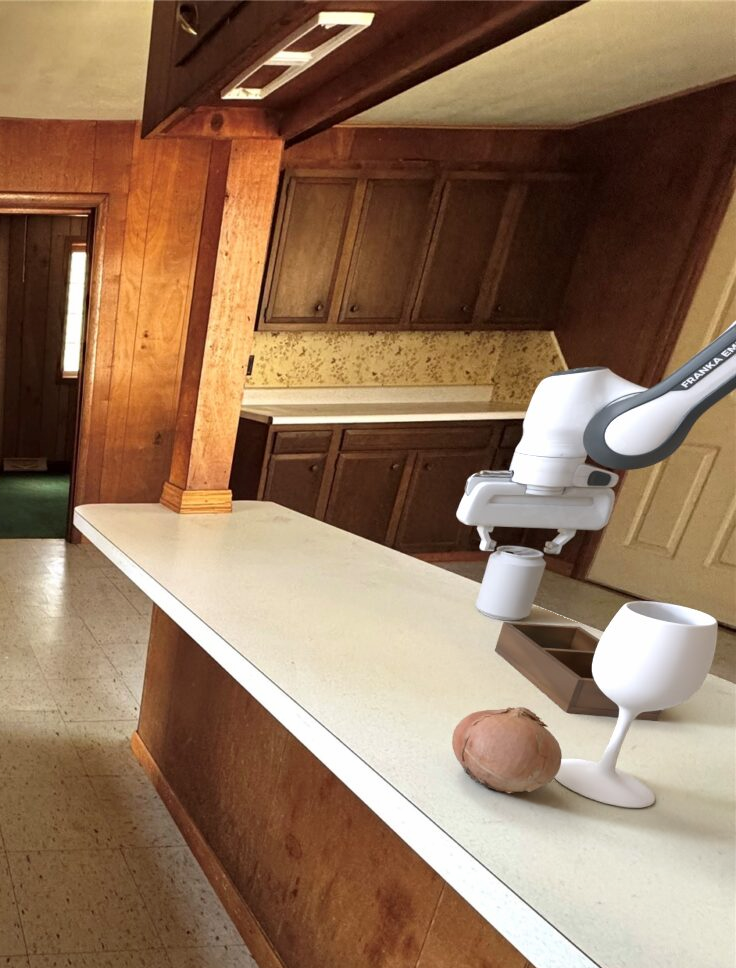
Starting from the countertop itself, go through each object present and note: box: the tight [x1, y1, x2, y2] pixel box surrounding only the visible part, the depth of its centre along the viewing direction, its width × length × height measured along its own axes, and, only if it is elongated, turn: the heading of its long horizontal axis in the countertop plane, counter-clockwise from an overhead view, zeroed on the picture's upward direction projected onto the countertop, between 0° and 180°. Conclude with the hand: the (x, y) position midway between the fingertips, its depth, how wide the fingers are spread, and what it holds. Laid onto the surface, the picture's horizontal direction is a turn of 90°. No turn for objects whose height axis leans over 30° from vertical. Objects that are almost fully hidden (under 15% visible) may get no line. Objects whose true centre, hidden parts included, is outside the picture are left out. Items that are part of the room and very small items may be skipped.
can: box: [475, 545, 547, 622], centre depth 115 cm, size 8×8×12 cm
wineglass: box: [553, 600, 718, 809], centre depth 71 cm, size 9×9×21 cm
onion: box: [451, 706, 563, 794], centre depth 74 cm, size 10×9×10 cm
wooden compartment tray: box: [494, 621, 663, 722], centre depth 94 cm, size 10×19×5 cm, turn 165°
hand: (518, 551), depth 113 cm, fingers open, 8 cm apart
